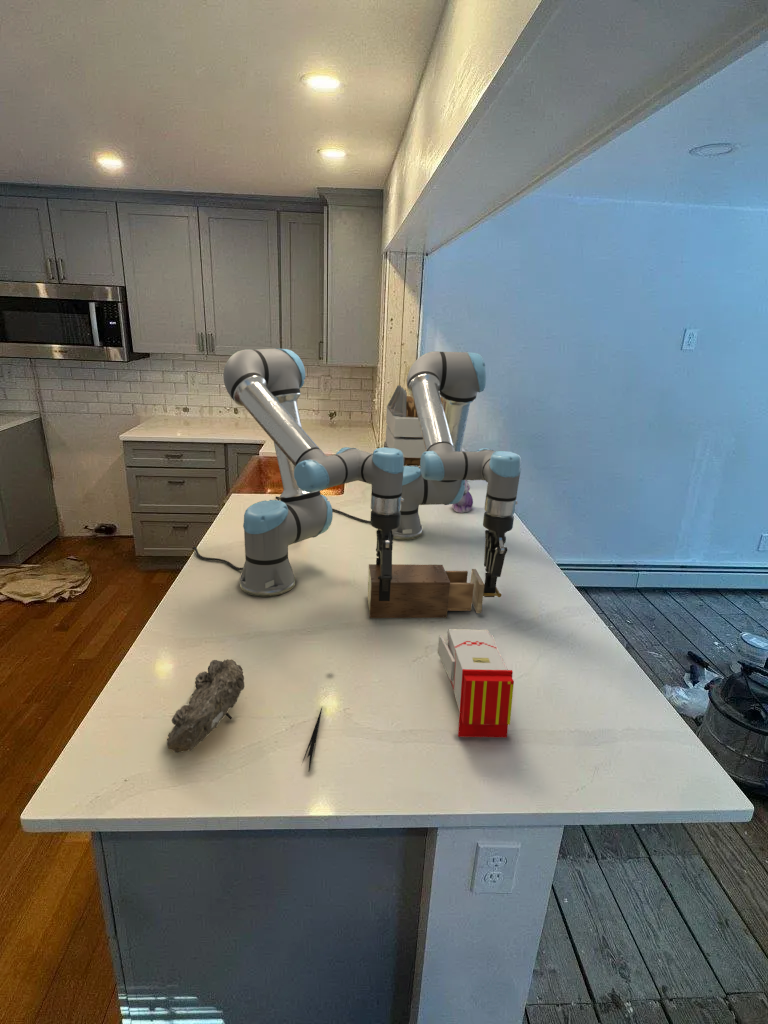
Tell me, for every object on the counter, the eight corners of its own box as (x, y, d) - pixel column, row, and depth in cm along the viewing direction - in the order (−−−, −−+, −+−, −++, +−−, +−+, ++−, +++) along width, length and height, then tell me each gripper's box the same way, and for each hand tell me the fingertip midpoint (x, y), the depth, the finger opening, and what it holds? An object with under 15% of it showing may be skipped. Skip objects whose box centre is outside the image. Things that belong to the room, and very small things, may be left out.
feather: (331, 679, 122) (336, 673, 122) (307, 777, 96) (313, 769, 95) (324, 675, 122) (329, 669, 121) (298, 772, 95) (304, 764, 95)
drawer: (492, 596, 157) (496, 568, 154) (502, 613, 148) (506, 584, 146) (405, 596, 155) (407, 568, 152) (409, 613, 146) (411, 584, 143)
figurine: (459, 514, 221) (463, 477, 216) (445, 506, 229) (448, 470, 224) (479, 511, 225) (483, 475, 220) (464, 503, 234) (467, 468, 228)
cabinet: (439, 598, 157) (442, 564, 153) (446, 617, 147) (450, 582, 143) (367, 598, 155) (368, 564, 151) (369, 618, 145) (371, 582, 141)
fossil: (192, 660, 117) (244, 628, 112) (224, 691, 120) (276, 661, 115) (142, 746, 98) (202, 712, 93) (182, 779, 101) (242, 748, 96)
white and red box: (488, 613, 130) (523, 677, 101) (484, 667, 133) (517, 744, 104) (435, 612, 130) (455, 676, 101) (432, 666, 133) (451, 743, 103)
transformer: (382, 463, 289) (386, 382, 275) (445, 464, 293) (451, 384, 279) (390, 482, 257) (394, 392, 243) (460, 483, 261) (468, 394, 247)
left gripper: (406, 527, 130) (401, 612, 138) (396, 496, 152) (392, 570, 159) (374, 527, 130) (370, 612, 137) (368, 495, 151) (365, 570, 159)
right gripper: (521, 522, 138) (509, 608, 146) (506, 505, 150) (496, 584, 158) (491, 522, 137) (480, 608, 145) (478, 504, 149) (469, 584, 157)
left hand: (382, 590), depth 148 cm, fingers closed on cabinet, 10 cm apart
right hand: (488, 595), depth 152 cm, fingers closed
